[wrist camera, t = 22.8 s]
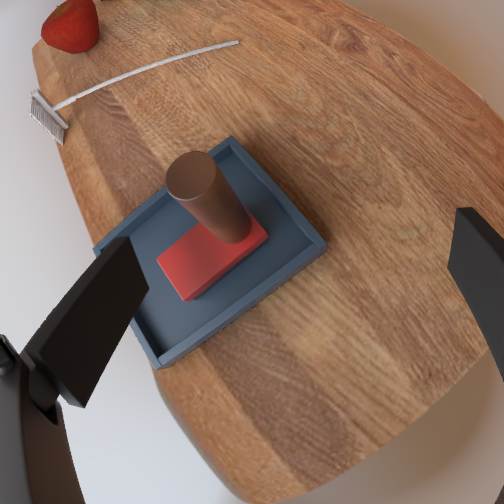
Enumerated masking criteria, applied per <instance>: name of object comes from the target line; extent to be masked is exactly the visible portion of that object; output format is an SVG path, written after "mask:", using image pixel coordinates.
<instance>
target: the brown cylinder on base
mask: <svg viewBox="0 0 504 504" xmlns="http://www.w3.org/2000/svg"><path fill="white" fill-rule="evenodd" d="M165 182H166V188H167V191H168V192H169V194H170V195H171V196H172V197H173V198H174V199H175V200H176V201H178V202H179V203H180V204H181V205H182V206H183V207H184V208H185V209H186V210H187V211H188V212H190V213H191V214H192V215H193V216H194V217H195V218H196V219H197V220H198V221H199V223H198V224H196V225H195V226H194V227H193V228H192V229H190V230H189V231H188V232H187V233H186V234H185V235H183V236H182V237H181V238H180V239H179V240H177V241H176V242H175V243H174V244H173V245H172V246H171V247H169V248H168V249H167V250H166V251H165V252H164V253H162V254H161V255H160V256H159V257H158V258H157V259H156V260H157V262H158V263H159V265H160V266H161V268H162V269H163V271H164V272H165V274H166V276H167V277H168V279H169V280H170V282H171V283H172V285H173V286H174V288H175V289H176V291H177V292H178V294H179V295H180V297H181V298H182V300H183V301H186V302H190V301H191V300H192V299H193V300H197V299H199V298H200V297H201V296H202V295H204V294H205V293H206V292H207V291H208V290H210V289H211V288H212V287H213V286H215V285H216V284H217V283H218V282H220V281H221V280H222V279H223V278H224V277H226V276H227V275H228V274H229V273H231V272H232V271H233V270H234V269H235V268H237V267H238V266H239V265H240V264H242V263H243V262H244V261H245V260H246V259H248V258H249V257H250V256H251V255H253V254H254V253H255V252H256V251H258V250H259V249H260V248H261V247H262V246H264V245H265V244H266V243H267V242H268V240H267V238H268V237H269V236H268V234H267V232H266V231H265V230H264V228H263V227H262V226H261V225H260V224H259V223H258V221H257V220H256V219H255V218H254V217H253V216H252V214H251V213H250V212H249V211H248V210H247V209H246V208H245V206H244V205H243V204H242V203H241V202H240V200H239V199H238V197H237V195H236V194H235V192H234V191H233V189H232V187H231V186H230V184H229V183H228V181H227V179H226V178H225V176H224V175H223V173H222V171H221V170H220V168H219V167H218V165H217V163H216V162H215V160H214V159H213V158H212V157H211V156H210V155H209V154H207V153H204V152H200V151H192V152H188V153H185V154H183V155H181V156H180V157H178V158H177V159H176V160H175V161H174V162H173V163H172V164H171V166H170V167H169V169H168V171H167V174H166V180H165Z"/></svg>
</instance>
